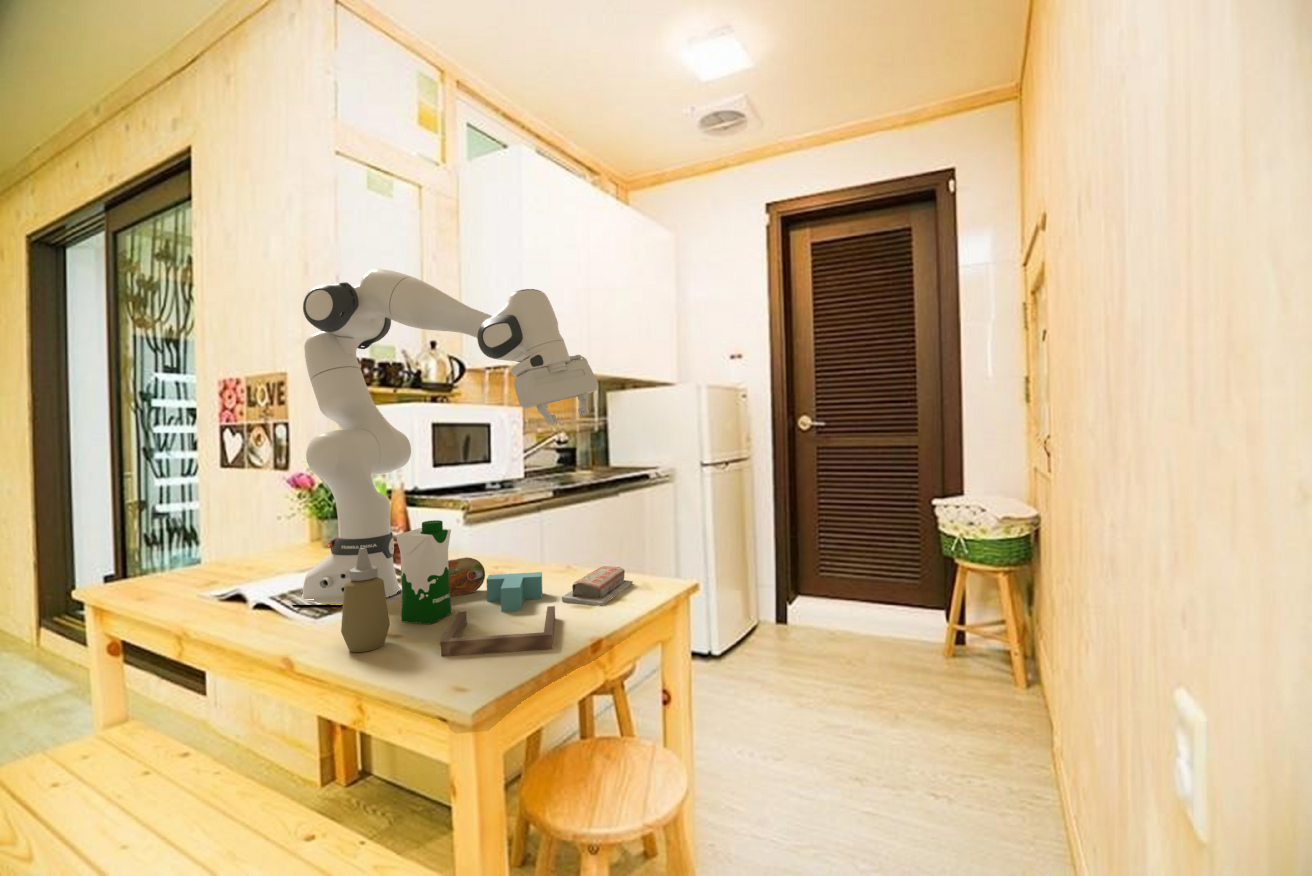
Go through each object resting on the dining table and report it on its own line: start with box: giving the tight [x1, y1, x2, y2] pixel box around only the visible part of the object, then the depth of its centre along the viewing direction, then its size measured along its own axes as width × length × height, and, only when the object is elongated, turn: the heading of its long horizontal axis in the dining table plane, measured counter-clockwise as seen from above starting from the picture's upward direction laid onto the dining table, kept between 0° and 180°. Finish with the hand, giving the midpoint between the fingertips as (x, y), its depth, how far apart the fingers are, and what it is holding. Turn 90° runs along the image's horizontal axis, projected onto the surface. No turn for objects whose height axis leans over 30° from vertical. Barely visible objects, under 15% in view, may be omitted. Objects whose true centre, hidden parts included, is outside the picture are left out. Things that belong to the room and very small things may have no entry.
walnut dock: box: [440, 605, 556, 657], centre depth 116 cm, size 19×16×2 cm
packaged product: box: [561, 565, 634, 607], centre depth 143 cm, size 18×5×10 cm
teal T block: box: [486, 571, 543, 613], centre depth 136 cm, size 12×12×5 cm
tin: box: [448, 556, 486, 598], centre depth 143 cm, size 15×3×8 cm, turn 119°
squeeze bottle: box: [340, 548, 391, 653], centre depth 111 cm, size 8×8×18 cm
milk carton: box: [395, 519, 452, 625], centre depth 127 cm, size 9×9×20 cm
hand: (569, 419), depth 136 cm, fingers open, 8 cm apart
